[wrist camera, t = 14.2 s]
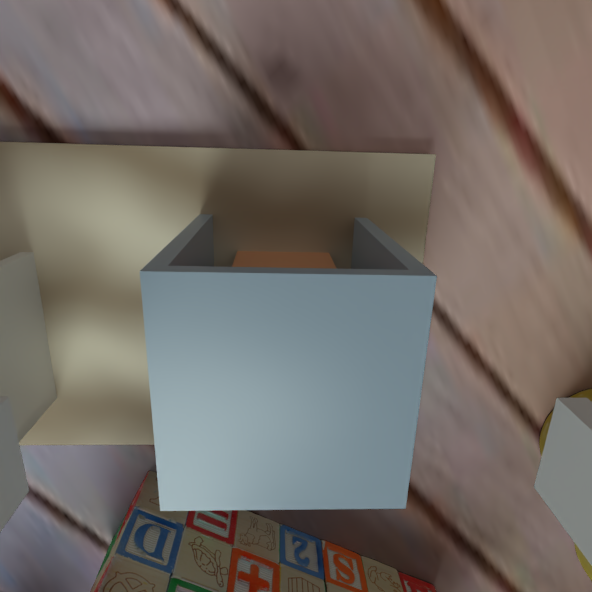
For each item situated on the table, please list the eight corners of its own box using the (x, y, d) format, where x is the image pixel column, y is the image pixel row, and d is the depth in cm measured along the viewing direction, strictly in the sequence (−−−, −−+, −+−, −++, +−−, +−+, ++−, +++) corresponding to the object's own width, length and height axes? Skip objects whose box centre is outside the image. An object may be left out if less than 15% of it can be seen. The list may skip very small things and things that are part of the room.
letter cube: (324, 336, 24) (335, 379, 19) (238, 335, 23) (229, 379, 19) (329, 252, 22) (342, 279, 18) (237, 250, 22) (227, 277, 18)
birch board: (396, 433, 27) (400, 444, 26) (-127, 434, 26) (-142, 445, 25) (428, 153, 22) (436, 154, 21) (-223, 134, 20) (-247, 134, 20)
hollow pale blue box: (355, 366, 24) (405, 508, 15) (205, 365, 24) (160, 511, 15) (366, 217, 22) (436, 276, 12) (199, 214, 21) (139, 271, 12)
